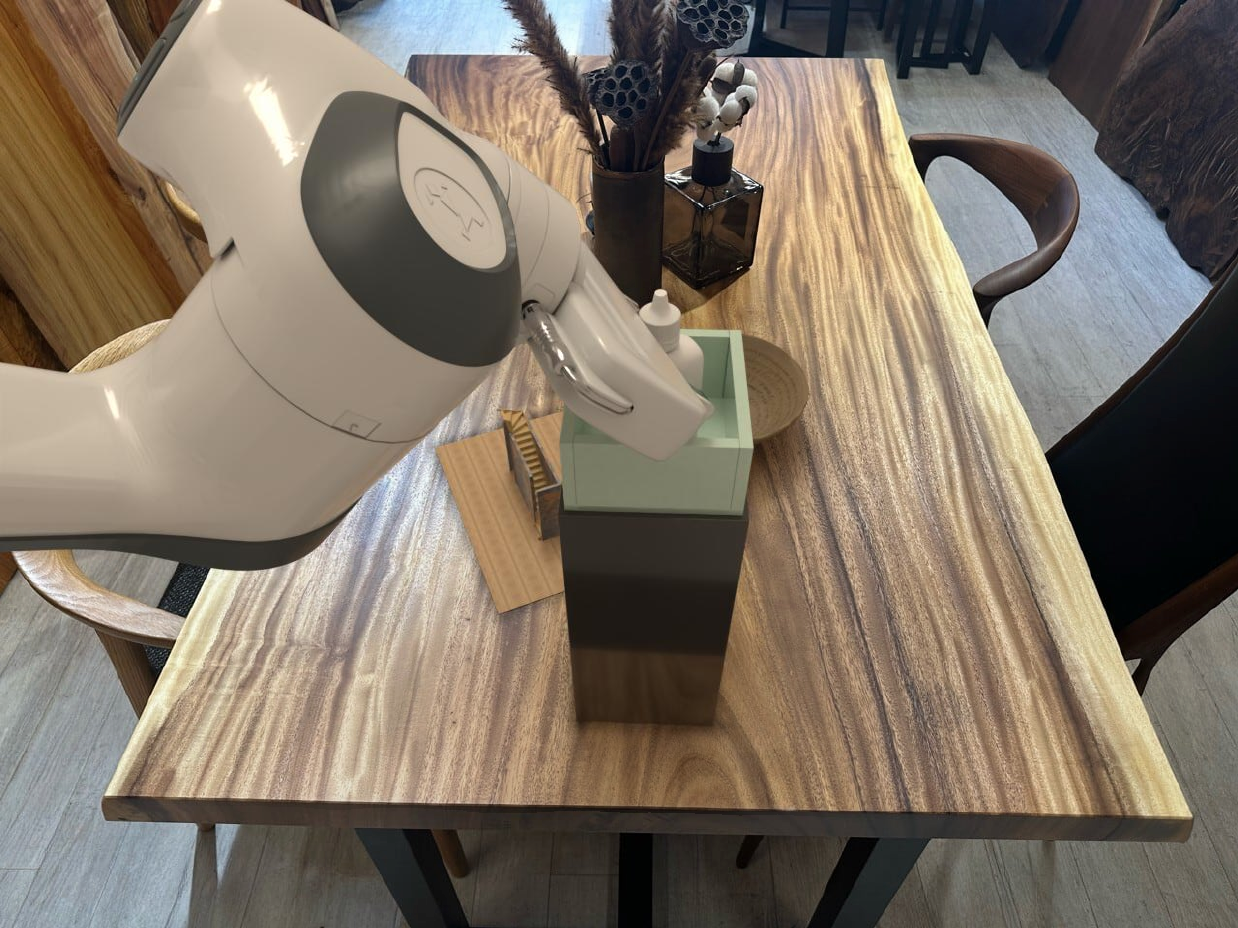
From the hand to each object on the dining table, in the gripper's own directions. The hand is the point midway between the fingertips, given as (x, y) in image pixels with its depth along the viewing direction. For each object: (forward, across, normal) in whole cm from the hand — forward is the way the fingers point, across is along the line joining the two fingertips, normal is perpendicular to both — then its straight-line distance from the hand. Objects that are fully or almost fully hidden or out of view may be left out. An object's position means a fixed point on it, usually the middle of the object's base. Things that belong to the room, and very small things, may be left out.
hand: (666, 364), depth 49 cm
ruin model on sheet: (+22, +23, +28) cm, 42 cm away
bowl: (+40, +25, +11) cm, 48 cm away
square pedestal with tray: (+24, 0, +25) cm, 35 cm away
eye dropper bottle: (+4, 0, +5) cm, 7 cm away
